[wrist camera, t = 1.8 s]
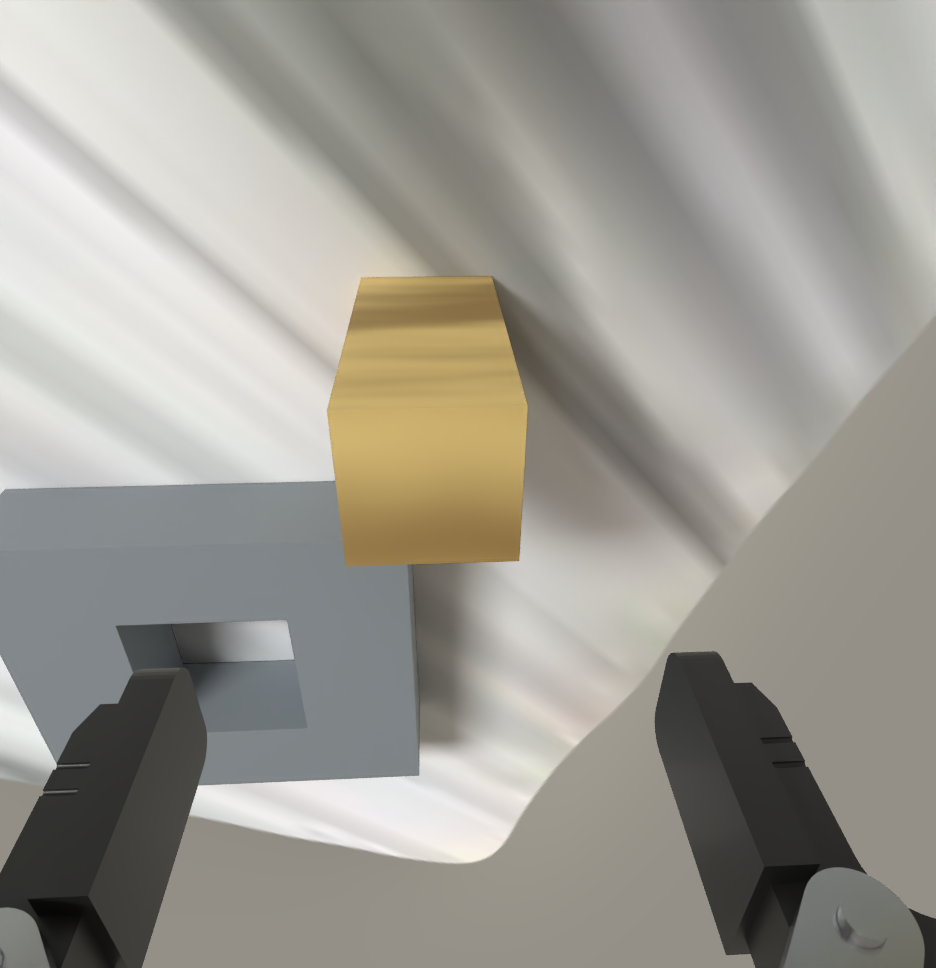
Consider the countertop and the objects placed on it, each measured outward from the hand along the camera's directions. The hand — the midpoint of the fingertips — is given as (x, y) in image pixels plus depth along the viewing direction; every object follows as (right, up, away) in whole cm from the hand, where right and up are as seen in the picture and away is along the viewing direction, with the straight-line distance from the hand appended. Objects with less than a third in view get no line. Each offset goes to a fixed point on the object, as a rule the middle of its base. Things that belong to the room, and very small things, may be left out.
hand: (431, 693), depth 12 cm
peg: (-1, +9, +13) cm, 16 cm away
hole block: (-10, -2, +20) cm, 22 cm away
